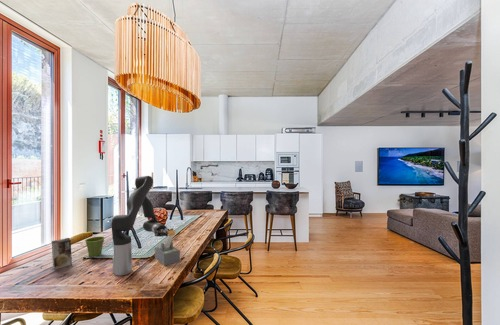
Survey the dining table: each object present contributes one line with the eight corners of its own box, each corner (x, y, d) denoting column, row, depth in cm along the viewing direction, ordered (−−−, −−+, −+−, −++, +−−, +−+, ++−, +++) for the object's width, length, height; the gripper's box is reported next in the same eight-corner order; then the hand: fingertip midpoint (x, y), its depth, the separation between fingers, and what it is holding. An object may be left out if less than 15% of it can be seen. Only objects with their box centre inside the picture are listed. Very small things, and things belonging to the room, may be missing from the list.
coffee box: (70, 262, 162) (69, 237, 162) (72, 265, 158) (71, 239, 158) (52, 266, 156) (51, 240, 156) (53, 269, 151) (52, 243, 151)
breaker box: (155, 258, 166) (154, 241, 165) (170, 254, 172) (169, 238, 172) (164, 266, 153) (163, 248, 153) (179, 261, 160) (179, 244, 160)
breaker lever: (163, 246, 163) (168, 231, 155) (168, 245, 165) (173, 229, 158) (164, 249, 161) (169, 234, 154) (169, 248, 164) (175, 232, 156)
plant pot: (96, 259, 167) (95, 242, 166) (80, 258, 169) (80, 241, 169) (109, 252, 178) (108, 236, 178) (95, 251, 180) (94, 236, 180)
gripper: (149, 225, 167) (158, 231, 154) (168, 222, 176) (179, 227, 163) (149, 237, 168) (159, 243, 154) (168, 232, 176) (179, 238, 163)
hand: (169, 235), depth 159 cm, fingers closed
